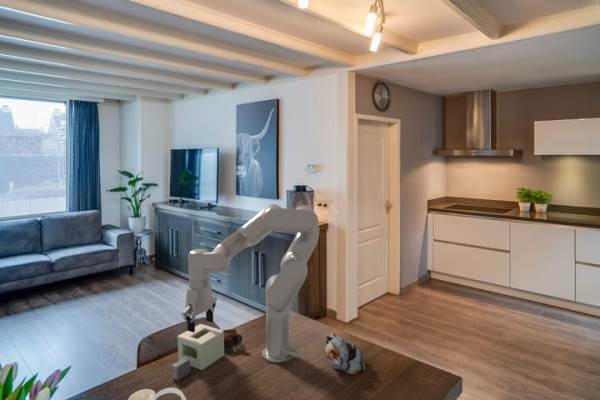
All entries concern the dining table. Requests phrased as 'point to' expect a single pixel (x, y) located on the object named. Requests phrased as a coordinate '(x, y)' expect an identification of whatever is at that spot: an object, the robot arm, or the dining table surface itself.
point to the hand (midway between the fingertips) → (200, 326)
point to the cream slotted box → (201, 346)
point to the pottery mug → (231, 342)
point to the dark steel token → (180, 369)
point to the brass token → (194, 353)
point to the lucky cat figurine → (344, 355)
